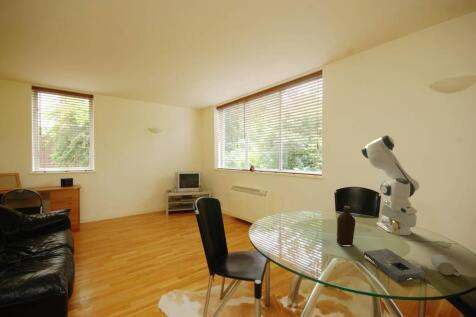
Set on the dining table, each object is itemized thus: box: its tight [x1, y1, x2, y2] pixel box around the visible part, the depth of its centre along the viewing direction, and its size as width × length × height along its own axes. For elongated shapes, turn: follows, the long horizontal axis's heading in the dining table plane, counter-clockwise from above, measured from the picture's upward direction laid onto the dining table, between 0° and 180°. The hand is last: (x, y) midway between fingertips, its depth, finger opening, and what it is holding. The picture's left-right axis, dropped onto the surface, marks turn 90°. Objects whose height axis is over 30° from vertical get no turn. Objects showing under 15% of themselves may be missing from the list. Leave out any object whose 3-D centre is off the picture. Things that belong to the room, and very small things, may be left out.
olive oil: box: [336, 205, 356, 246], centre depth 145 cm, size 11×11×25 cm
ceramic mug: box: [430, 254, 461, 277], centre depth 116 cm, size 11×8×8 cm
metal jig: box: [363, 248, 426, 283], centre depth 121 cm, size 22×16×4 cm
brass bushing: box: [390, 220, 401, 236], centre depth 136 cm, size 4×4×8 cm
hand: (395, 227), depth 136 cm, fingers closed on brass bushing, 4 cm apart
